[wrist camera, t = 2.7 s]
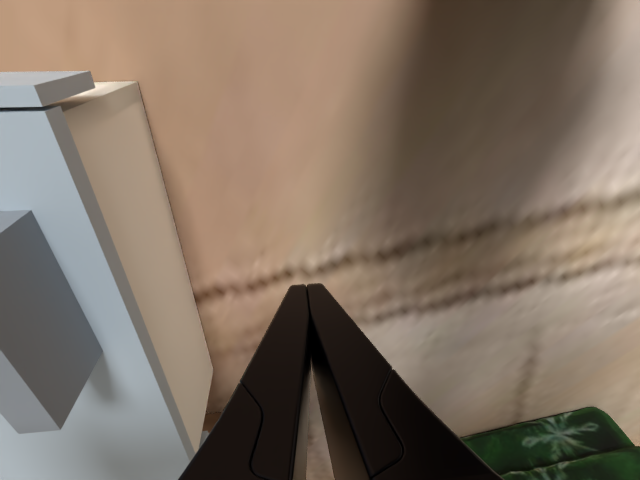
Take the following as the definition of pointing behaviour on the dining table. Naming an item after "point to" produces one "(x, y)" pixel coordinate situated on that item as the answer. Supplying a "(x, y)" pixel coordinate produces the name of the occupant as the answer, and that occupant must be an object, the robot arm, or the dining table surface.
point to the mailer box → (144, 235)
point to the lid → (70, 313)
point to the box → (560, 449)
